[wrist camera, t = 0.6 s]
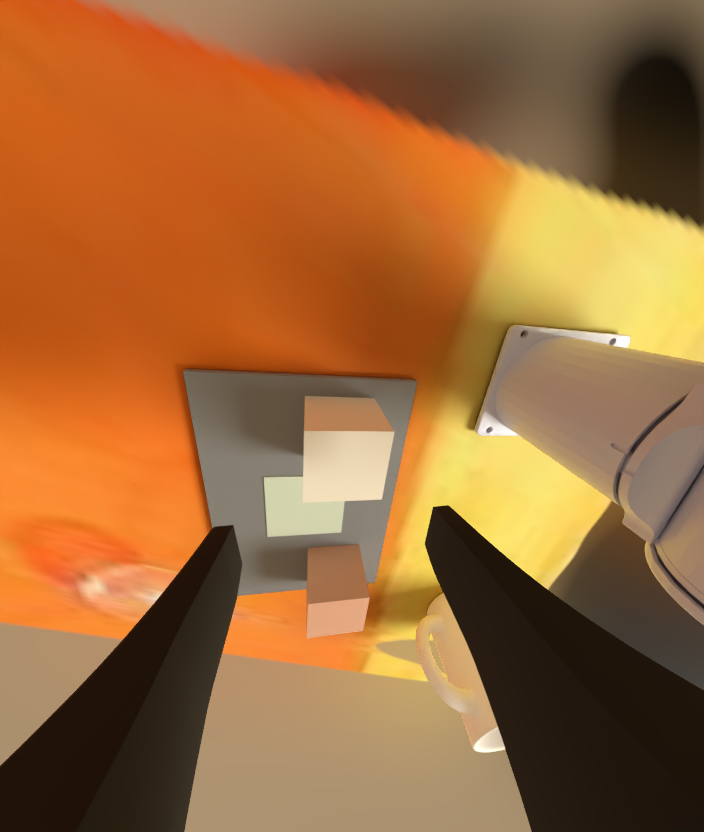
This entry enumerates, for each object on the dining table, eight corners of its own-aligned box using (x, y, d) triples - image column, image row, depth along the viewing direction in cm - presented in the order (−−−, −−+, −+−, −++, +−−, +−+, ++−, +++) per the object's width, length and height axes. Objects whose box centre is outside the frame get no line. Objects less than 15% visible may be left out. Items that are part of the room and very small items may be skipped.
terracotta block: (359, 544, 23) (369, 597, 19) (354, 576, 25) (362, 630, 21) (307, 547, 22) (308, 604, 18) (306, 580, 24) (306, 638, 20)
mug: (385, 618, 30) (419, 760, 21) (421, 573, 28) (478, 715, 18) (463, 625, 34) (521, 749, 25) (503, 586, 31) (583, 709, 22)
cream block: (374, 398, 17) (394, 431, 13) (366, 455, 19) (381, 499, 15) (304, 395, 16) (304, 430, 12) (303, 455, 18) (302, 502, 14)
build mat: (414, 379, 18) (418, 382, 17) (373, 577, 27) (375, 583, 26) (186, 368, 15) (182, 371, 15) (226, 591, 24) (224, 598, 24)
